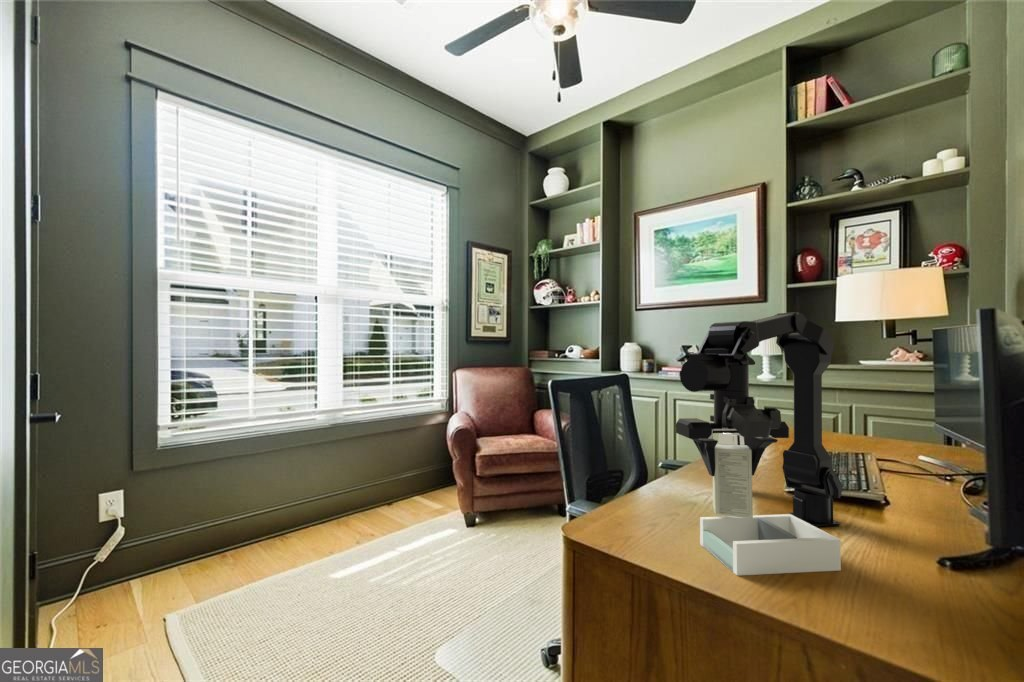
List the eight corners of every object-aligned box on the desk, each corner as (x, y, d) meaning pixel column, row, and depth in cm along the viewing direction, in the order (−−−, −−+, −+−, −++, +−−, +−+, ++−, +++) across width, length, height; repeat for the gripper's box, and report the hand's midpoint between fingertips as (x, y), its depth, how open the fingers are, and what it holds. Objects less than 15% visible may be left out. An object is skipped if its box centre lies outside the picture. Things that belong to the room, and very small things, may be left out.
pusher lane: (790, 540, 81) (790, 514, 81) (840, 570, 70) (840, 539, 70) (700, 544, 79) (699, 517, 79) (736, 575, 68) (736, 543, 68)
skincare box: (748, 511, 79) (748, 445, 80) (753, 520, 75) (753, 450, 75) (711, 506, 81) (711, 442, 82) (713, 515, 77) (713, 447, 78)
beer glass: (753, 496, 106) (752, 435, 106) (722, 494, 107) (722, 434, 108) (743, 487, 113) (743, 430, 113) (715, 485, 114) (715, 429, 114)
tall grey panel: (763, 539, 79) (763, 518, 79) (797, 561, 71) (796, 537, 71) (758, 539, 79) (758, 518, 79) (791, 561, 71) (791, 537, 71)
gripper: (705, 394, 70) (705, 490, 70) (812, 394, 71) (813, 488, 71) (674, 388, 81) (674, 471, 81) (767, 388, 83) (768, 469, 82)
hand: (731, 475), depth 78 cm, fingers closed on skincare box, 7 cm apart
